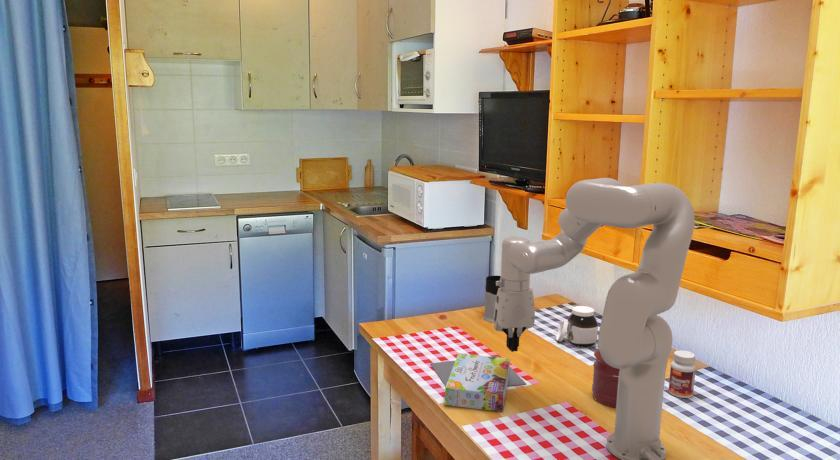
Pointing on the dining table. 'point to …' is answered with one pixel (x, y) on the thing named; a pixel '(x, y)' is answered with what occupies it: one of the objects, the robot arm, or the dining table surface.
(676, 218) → the robot arm
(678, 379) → the pill bottle
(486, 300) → the grey mug
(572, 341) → the spread jar
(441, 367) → the mat
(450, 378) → the snack box
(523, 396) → the dining table surface
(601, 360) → the canister
